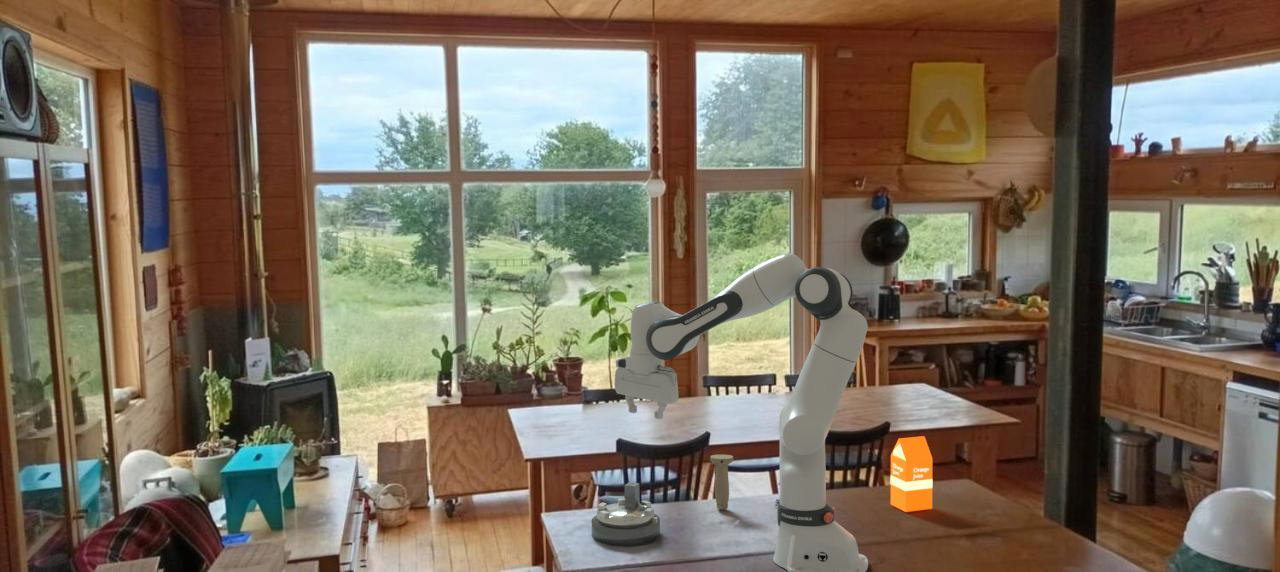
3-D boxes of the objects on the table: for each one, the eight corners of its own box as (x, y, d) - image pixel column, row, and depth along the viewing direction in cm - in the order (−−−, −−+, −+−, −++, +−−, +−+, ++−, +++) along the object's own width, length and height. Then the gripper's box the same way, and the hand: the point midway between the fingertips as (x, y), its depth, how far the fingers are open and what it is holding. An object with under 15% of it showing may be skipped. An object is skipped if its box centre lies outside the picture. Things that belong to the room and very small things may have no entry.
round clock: (662, 513, 244) (662, 483, 243) (640, 531, 230) (640, 500, 229) (611, 507, 249) (611, 478, 249) (587, 524, 236) (586, 494, 235)
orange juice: (890, 504, 262) (890, 435, 261) (916, 500, 265) (916, 433, 264) (905, 512, 255) (906, 441, 254) (932, 508, 258) (933, 439, 256)
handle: (733, 511, 258) (733, 458, 257) (711, 510, 259) (710, 458, 258) (733, 505, 263) (732, 454, 262) (711, 505, 264) (710, 454, 263)
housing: (670, 528, 245) (669, 507, 244) (644, 550, 228) (644, 529, 228) (609, 520, 252) (608, 501, 251) (580, 541, 235) (579, 521, 235)
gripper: (684, 367, 233) (683, 420, 235) (627, 357, 248) (626, 407, 249) (667, 369, 229) (666, 424, 230) (611, 359, 243) (610, 411, 244)
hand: (645, 415), depth 239 cm, fingers open, 8 cm apart
